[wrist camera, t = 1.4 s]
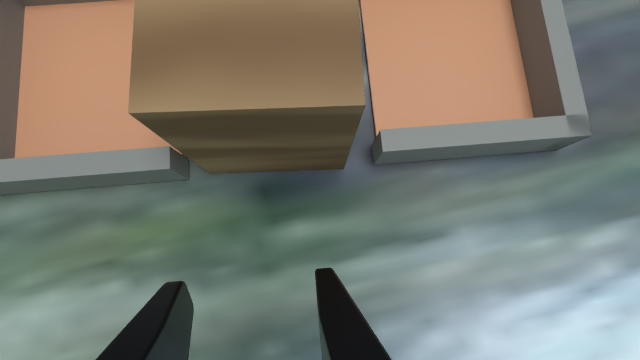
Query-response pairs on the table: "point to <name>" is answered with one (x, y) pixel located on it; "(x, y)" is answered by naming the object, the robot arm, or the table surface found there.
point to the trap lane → (383, 70)
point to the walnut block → (249, 81)
